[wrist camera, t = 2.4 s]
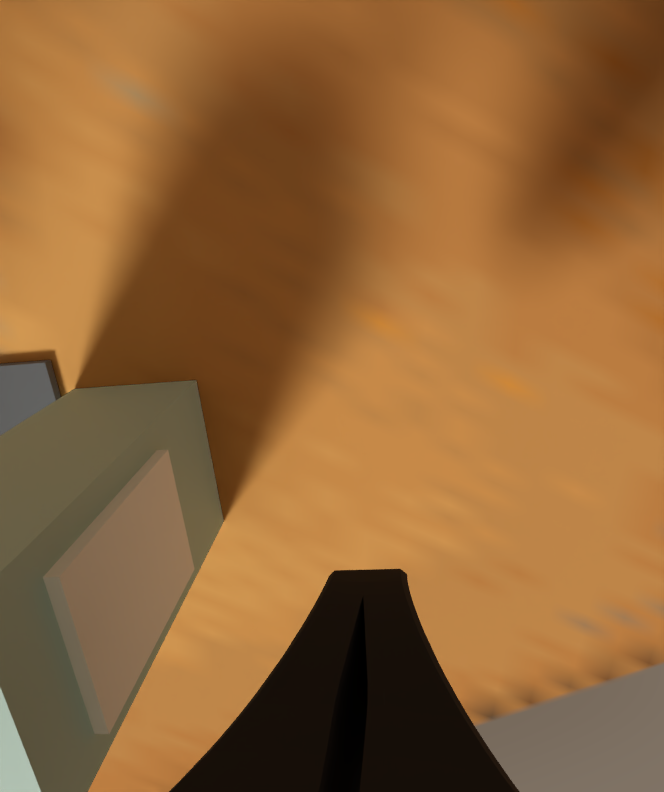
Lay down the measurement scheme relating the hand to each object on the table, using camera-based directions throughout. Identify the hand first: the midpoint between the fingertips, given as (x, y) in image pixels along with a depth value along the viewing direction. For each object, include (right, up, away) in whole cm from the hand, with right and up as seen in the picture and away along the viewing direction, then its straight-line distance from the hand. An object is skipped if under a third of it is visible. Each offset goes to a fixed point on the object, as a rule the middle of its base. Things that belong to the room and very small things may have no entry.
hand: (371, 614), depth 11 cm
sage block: (-7, +2, +8) cm, 10 cm away
